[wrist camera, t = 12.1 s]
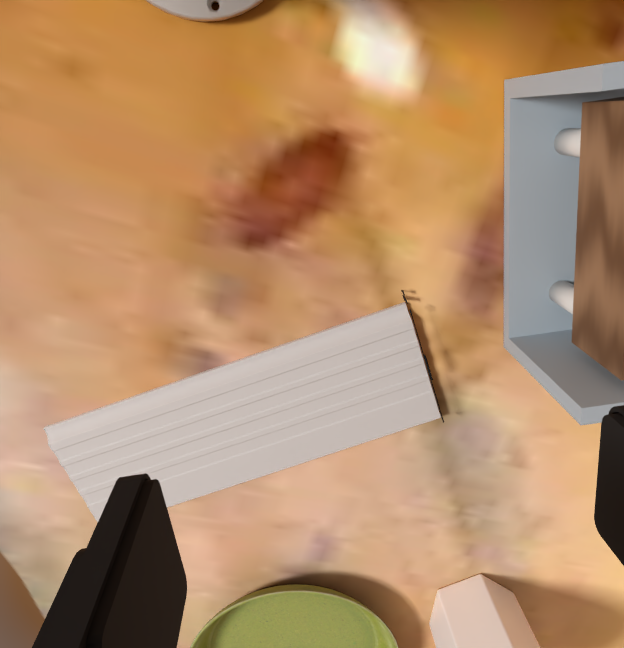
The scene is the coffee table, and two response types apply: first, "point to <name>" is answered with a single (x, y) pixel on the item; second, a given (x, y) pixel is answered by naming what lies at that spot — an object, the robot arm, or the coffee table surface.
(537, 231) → the peg frame
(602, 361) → the shelf board
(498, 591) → the jar
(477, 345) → the coffee table surface
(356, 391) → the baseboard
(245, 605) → the saucer
